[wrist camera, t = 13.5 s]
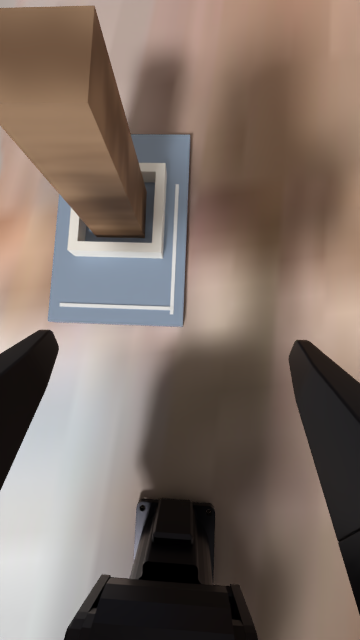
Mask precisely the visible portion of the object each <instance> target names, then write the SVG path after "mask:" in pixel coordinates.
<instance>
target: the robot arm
mask: <svg viewBox="0 0 360 640" xmlns="http://www.w3.org/2000/svg"><path fill="white" fill-rule="evenodd" d="M58 350H59V346H58V343H57V341H56V339H55V336H54V334H53V332H52V331H51V330H38V331H37V332H35V333H33V334H32V335H30V336H28V337H27V338H25V339H24V340H22V341H20V342H19V343H17V344H15V345H14V346H12V347H11V348H9V349H7V350H6V351H4V352H2V353H1V354H0V490H1V488H2V486H3V483H4V481H5V479H6V477H7V475H8V472H9V470H10V468H11V466H12V463H13V461H14V459H15V457H16V455H17V452H18V450H19V448H20V446H21V443H22V441H23V439H24V437H25V435H26V432H27V430H28V428H29V426H30V423H31V421H32V419H33V417H34V415H35V412H36V410H37V408H38V406H39V403H40V401H41V399H42V397H43V395H44V392H45V390H46V388H47V385H48V382H49V379H50V376H51V373H52V370H53V367H54V364H55V360H56V357H57V354H58ZM289 365H290V371H291V377H292V383H293V388H294V394H295V399H296V403H297V406H298V410H299V413H300V416H301V420H302V423H303V426H304V430H305V433H306V436H307V440H308V443H309V446H310V450H311V453H312V456H313V460H314V463H315V467H316V470H317V473H318V477H319V480H320V483H321V487H322V490H323V493H324V497H325V500H326V503H327V507H328V510H329V513H330V517H331V520H332V523H333V527H334V530H335V533H336V537H337V540H338V541H339V542H338V544H339V547H340V551H341V554H342V557H343V561H344V564H345V567H346V571H347V574H348V577H349V581H350V584H351V587H352V591H353V594H354V597H355V601H356V604H357V607H358V611H359V614H360V383H359V382H358V381H356V380H355V379H354V378H353V377H352V376H350V375H349V374H348V373H347V372H346V371H344V370H343V369H342V368H341V367H340V366H338V365H337V364H336V363H335V362H334V361H332V360H331V359H330V358H329V357H328V356H326V355H325V354H324V353H323V352H322V351H320V350H319V349H318V348H317V347H316V346H314V345H313V344H312V343H311V342H309V341H307V340H296V341H295V342H294V345H293V347H292V350H291V352H290V355H289ZM141 505H144V506H145V508H141ZM208 509H210V510H211V512H210V513H207V512H206V510H208ZM214 531H215V510H214V506H213V505H212V504H210V503H199V502H191V501H190V500H178V499H163V498H162V499H161V500H153V499H141V500H139V502H138V504H137V508H136V527H135V546H134V564H133V567H132V571H131V575H130V579H127V578H114V577H110V575H103V574H102V575H101V577H100V578H99V580H98V581H97V583H96V584H95V586H94V587H93V589H92V590H91V592H90V594H89V595H88V597H87V598H86V600H85V601H84V603H83V604H82V606H81V607H80V609H79V610H78V612H77V614H76V615H75V617H74V619H73V620H72V622H71V623H70V625H69V626H68V628H67V631H66V634H65V638H64V640H258V637H257V633H256V630H255V627H254V624H253V621H252V618H251V616H250V613H249V610H248V608H247V605H246V602H245V600H244V597H243V594H242V592H241V589H240V586H239V585H235V584H230V586H219V585H213V570H214Z"/></svg>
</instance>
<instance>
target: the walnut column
mask: <svg viewBox="0 0 360 640" xmlns="http://www.w3.org/2000/svg"><path fill="white" fill-rule="evenodd" d="M0 126H1V127H2V128H3V129H4V130H5V131H6V133H7V134H8V135H9V136H10V137H11V138H12V140H13V141H14V142H15V143H16V144H17V145H18V146H19V148H20V149H21V150H22V151H23V152H24V153H25V155H26V156H27V157H28V158H29V159H30V160H31V162H32V163H33V164H34V165H35V166H36V167H37V169H38V170H39V171H40V172H41V173H42V174H43V175H44V177H45V178H46V179H47V180H48V181H49V182H50V184H51V185H52V186H53V187H54V188H55V189H56V191H57V192H58V193H59V194H60V195H61V196H62V198H63V199H64V200H65V201H66V202H67V203H68V204H69V206H70V207H71V208H72V209H73V210H74V211H75V213H76V214H77V215H78V216H79V217H80V218H81V220H82V221H83V222H84V223H85V224H86V225H87V227H88V228H89V229H90V230H91V231H92V232H93V233H94V235H95V236H96V237H108V238H145V222H146V199H147V191H146V187H145V184H144V180H143V177H142V173H141V169H140V166H139V162H138V159H137V155H136V152H135V148H134V145H133V141H132V137H131V134H130V130H129V127H128V123H127V120H126V116H125V113H124V109H123V105H122V102H121V98H120V95H119V91H118V88H117V84H116V80H115V77H114V73H113V70H112V66H111V63H110V59H109V56H108V52H107V48H106V45H105V41H104V38H103V34H102V31H101V27H100V24H99V20H98V16H97V13H96V9H95V6H63V7H23V8H0Z"/></svg>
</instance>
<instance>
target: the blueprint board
mask: <svg viewBox="0 0 360 640" xmlns="http://www.w3.org/2000/svg"><path fill="white" fill-rule="evenodd" d="M131 137H132V141H133V145H134V148H135V152H136V155H137V159H138V162H139V166H140V169H141V173H142V177H143V180H144V184H145V187H146V191H147V199H146V222H145V238H108V237H96V236H95V235H94V233H93V232H92V231H91V230H90V229H89V228H88V227H87V225H86V224H85V223H84V222H83V221H82V220H81V218H80V217H79V216H78V215H77V214H76V213H75V211H74V210H73V209H72V208H71V207H70V206H69V204H68V203H67V202H66V201H65V200H64V199H63V198H62V196H61V195H60V194H59V203H58V214H57V225H56V236H55V247H54V258H53V269H52V280H51V291H50V302H49V313H48V321H50V322H63V323H90V324H117V325H143V326H170V327H183V312H184V287H185V261H186V236H187V210H188V185H189V160H190V135H156V134H131Z"/></svg>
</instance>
